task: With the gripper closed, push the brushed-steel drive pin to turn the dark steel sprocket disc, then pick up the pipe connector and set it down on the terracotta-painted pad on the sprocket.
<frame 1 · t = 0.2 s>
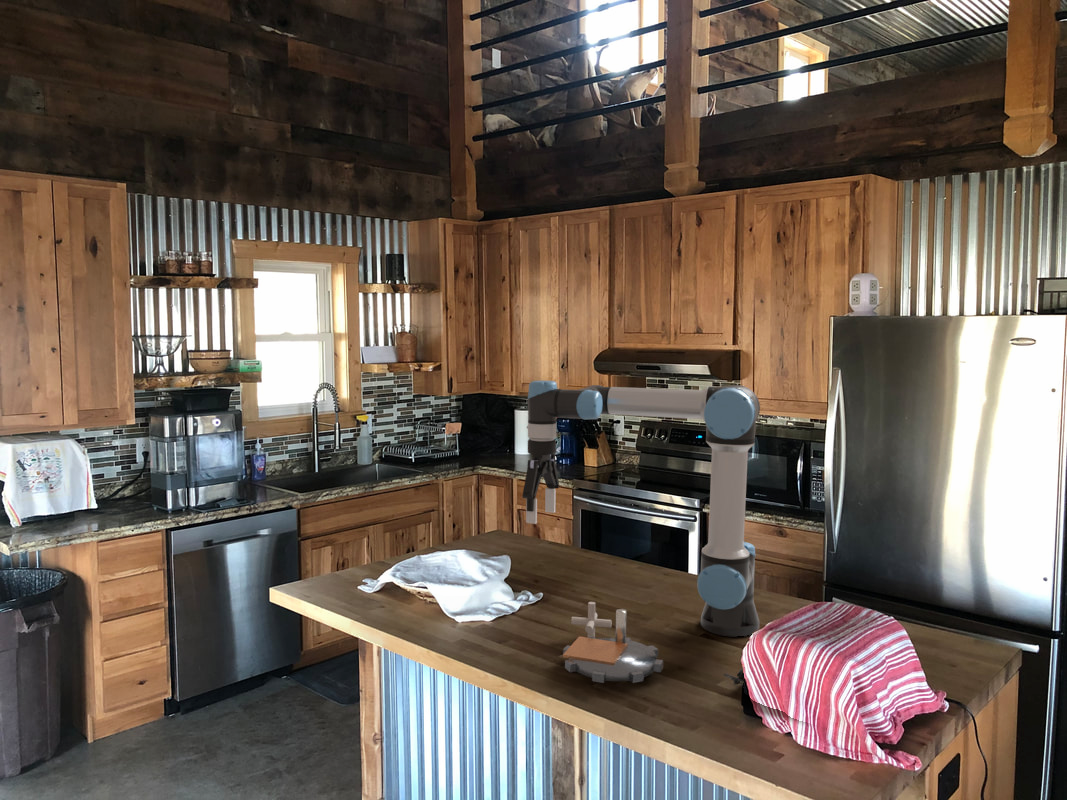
hand: (541, 517, 228), 28 cm above the worktop, fingers open, 13 cm apart
sprocket: (612, 641, 196), point 7 cm above the worktop, hinge at 0.0°
pipe connector: (591, 642, 215), on the worktop
pulley block: (798, 705, 182), on the worktop
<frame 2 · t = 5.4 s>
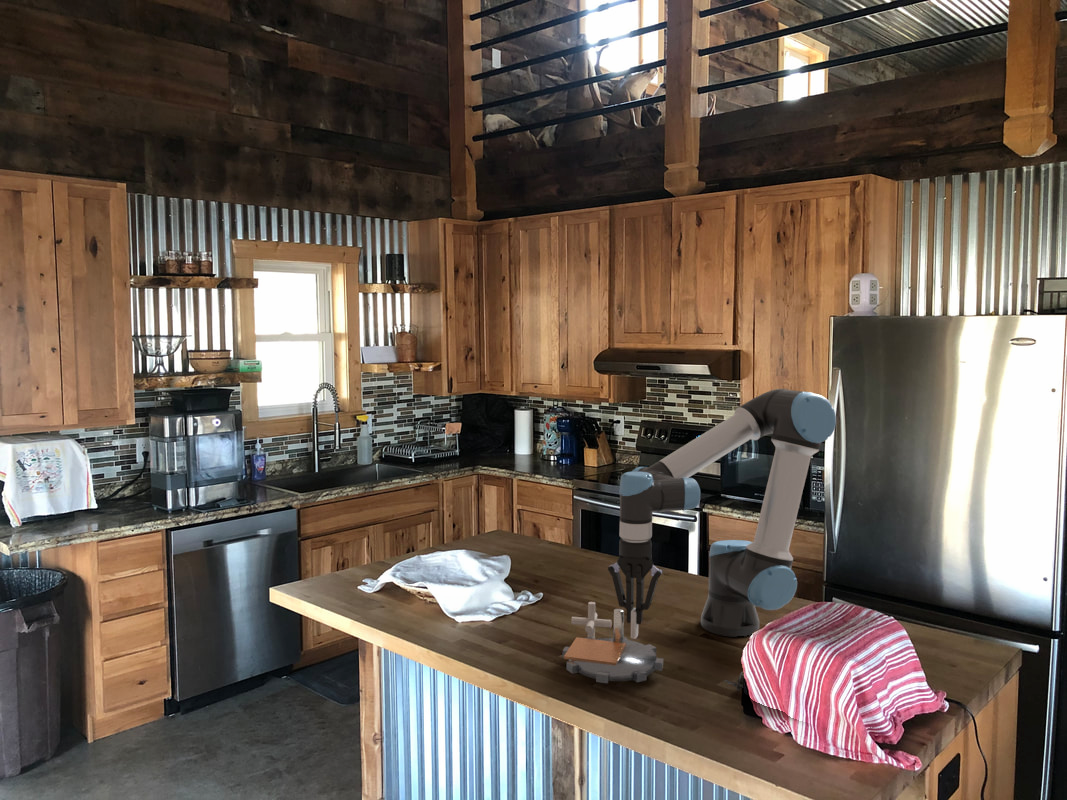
hand: (634, 636, 201), 7 cm above the worktop, fingers closed
sprocket: (612, 641, 196), point 7 cm above the worktop, hinge at 4.5°, touching gripper
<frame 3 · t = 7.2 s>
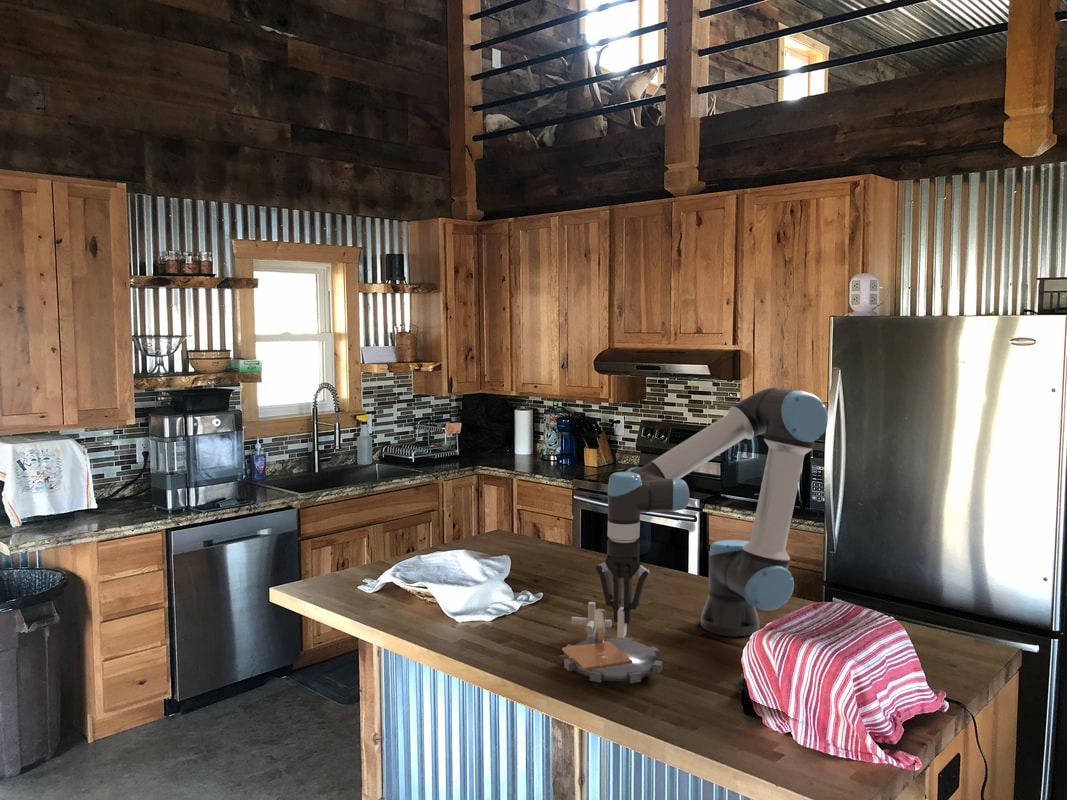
hand: (621, 635, 202), 6 cm above the worktop, fingers closed
sprocket: (612, 641, 196), point 7 cm above the worktop, hinge at 41.8°
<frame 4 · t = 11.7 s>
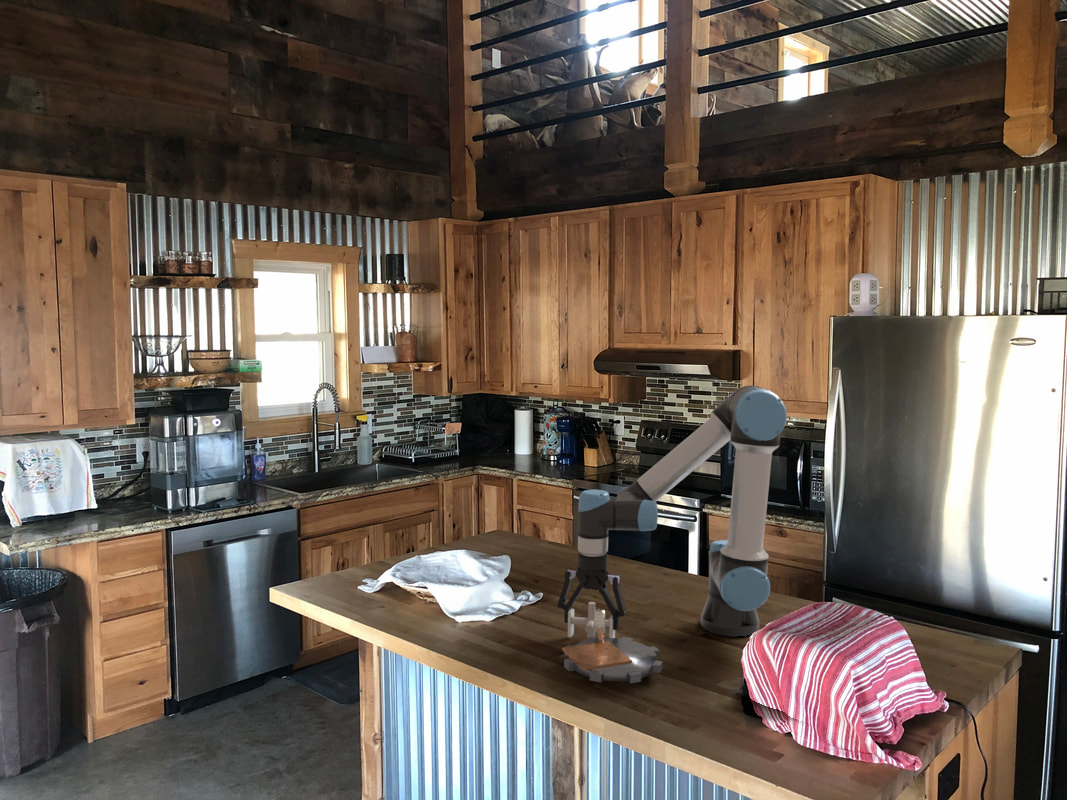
hand: (591, 638, 215), 1 cm above the worktop, fingers closed on pipe connector, 10 cm apart
pipe connector: (591, 642, 215), on the worktop, touching gripper
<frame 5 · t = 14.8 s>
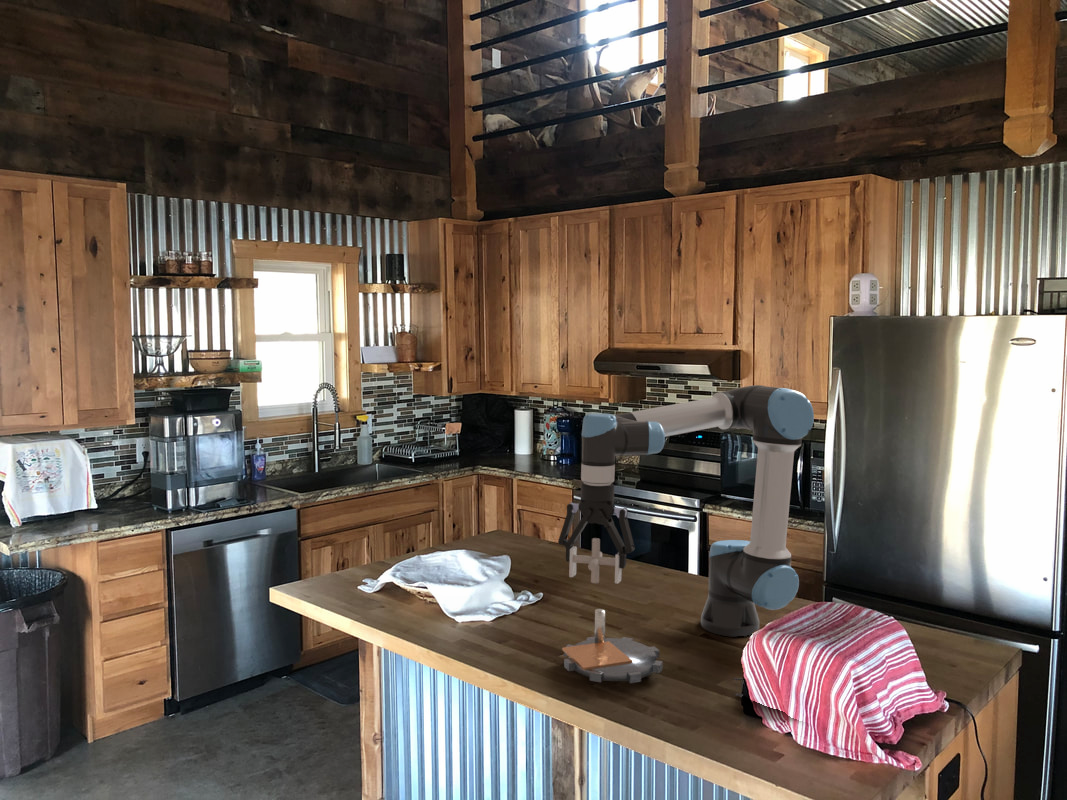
hand: (595, 578, 194), 22 cm above the worktop, fingers closed on pipe connector, 10 cm apart
pipe connector: (594, 582, 194), point 21 cm above the worktop, touching gripper
when the fingers open (7 cm above the worktop, at t = 18.4 s): pipe connector drops 1 cm, resting on sprocket.
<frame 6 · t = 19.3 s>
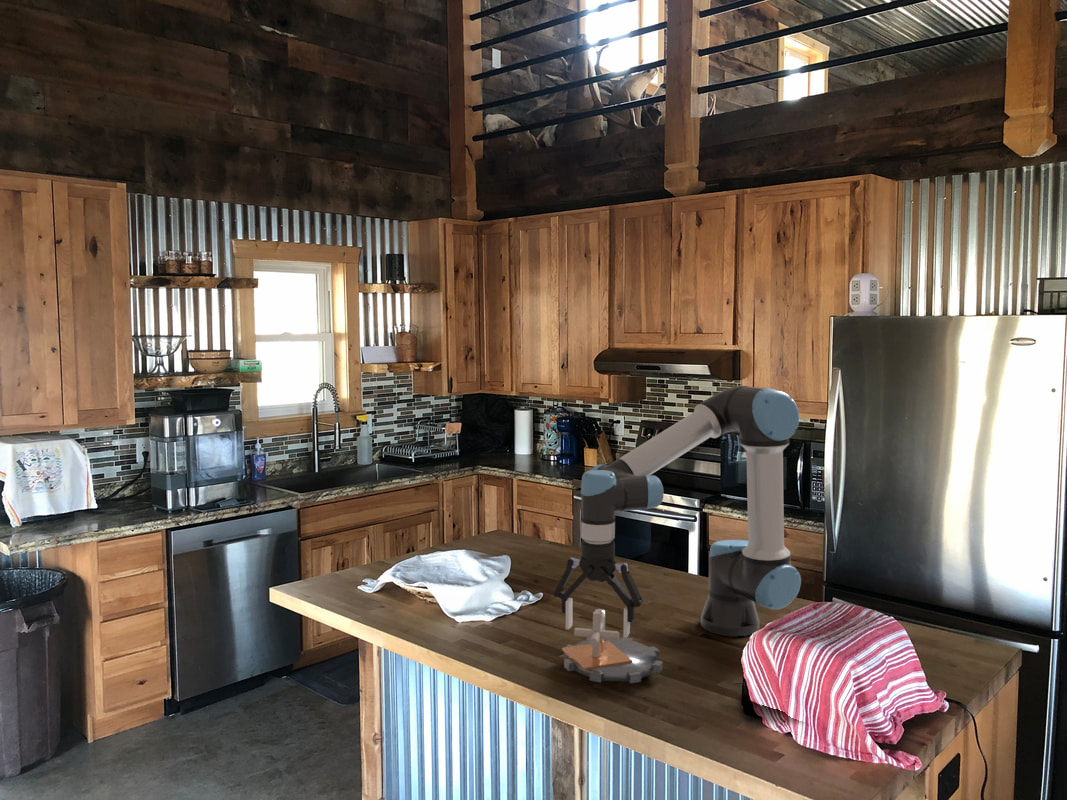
hand: (597, 631, 193), 10 cm above the worktop, fingers open, 13 cm apart
sprocket: (612, 641, 196), point 7 cm above the worktop, hinge at 41.8°, touching pipe connector
pipe connector: (596, 656, 194), point 5 cm above the worktop, touching sprocket
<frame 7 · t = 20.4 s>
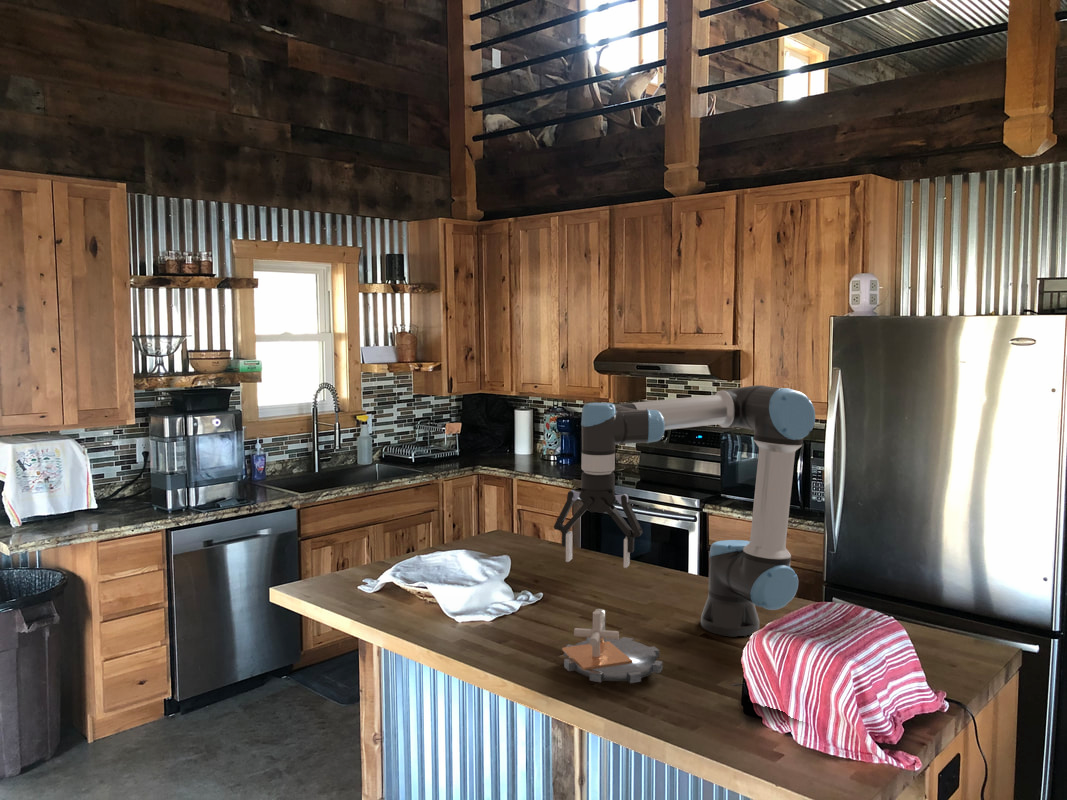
hand: (597, 563, 195), 25 cm above the worktop, fingers open, 13 cm apart
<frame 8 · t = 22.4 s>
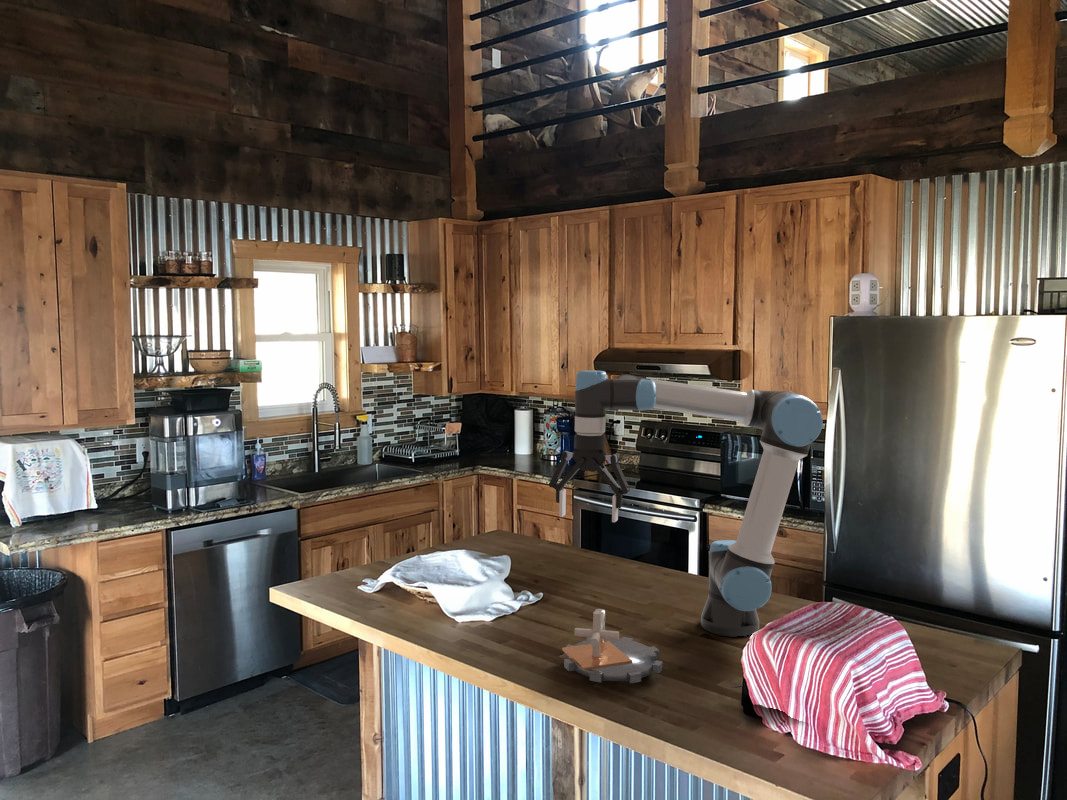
hand: (588, 518, 211), 32 cm above the worktop, fingers open, 13 cm apart
at the end: sprocket at +42° (first picture: +0°); pipe connector inside the target area on the sprocket (0.9 cm from its centre), point 4.7 cm above the sprocket's base; the gripper is holding nothing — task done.
